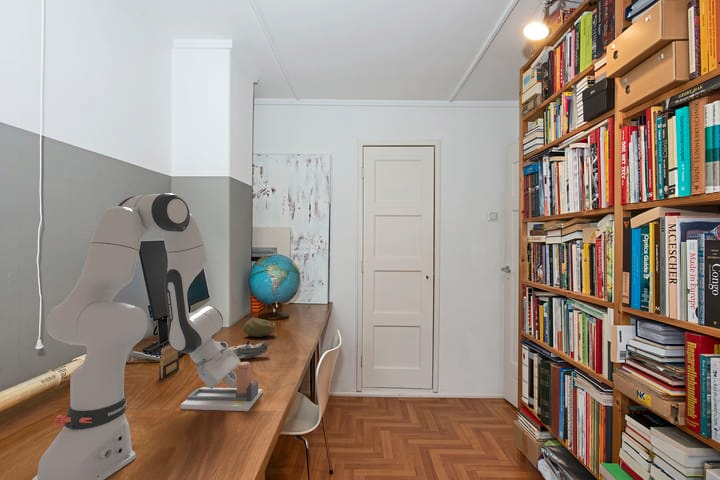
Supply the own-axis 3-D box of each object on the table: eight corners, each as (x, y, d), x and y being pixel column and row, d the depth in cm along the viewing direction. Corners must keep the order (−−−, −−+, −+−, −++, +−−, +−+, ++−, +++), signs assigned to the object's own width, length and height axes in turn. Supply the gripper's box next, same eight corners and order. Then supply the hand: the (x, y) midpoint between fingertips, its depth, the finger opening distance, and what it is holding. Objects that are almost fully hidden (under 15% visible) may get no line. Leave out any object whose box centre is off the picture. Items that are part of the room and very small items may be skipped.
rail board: (248, 411, 123) (248, 393, 123) (180, 408, 125) (180, 391, 125) (262, 393, 137) (262, 377, 137) (201, 391, 139) (201, 376, 139)
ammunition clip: (163, 379, 151) (163, 348, 151) (159, 379, 151) (158, 348, 151) (179, 369, 161) (179, 340, 161) (174, 369, 162) (174, 340, 161)
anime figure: (201, 346, 179) (267, 336, 182) (203, 362, 179) (269, 351, 183) (194, 353, 170) (264, 341, 173) (197, 369, 170) (267, 358, 173)
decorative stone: (277, 334, 218) (277, 316, 218) (270, 340, 207) (270, 321, 207) (248, 333, 220) (248, 316, 220) (239, 339, 209) (239, 320, 209)
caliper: (125, 363, 170) (125, 349, 170) (127, 362, 171) (127, 348, 171) (173, 362, 171) (173, 348, 171) (174, 361, 172) (174, 347, 172)
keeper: (247, 399, 128) (247, 366, 128) (235, 399, 128) (235, 365, 128) (252, 394, 133) (252, 361, 132) (240, 393, 133) (240, 361, 133)
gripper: (200, 358, 121) (231, 391, 120) (227, 340, 141) (253, 368, 141) (186, 372, 121) (217, 405, 121) (215, 352, 141) (241, 380, 141)
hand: (237, 385), depth 131 cm, fingers closed, pressing on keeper
